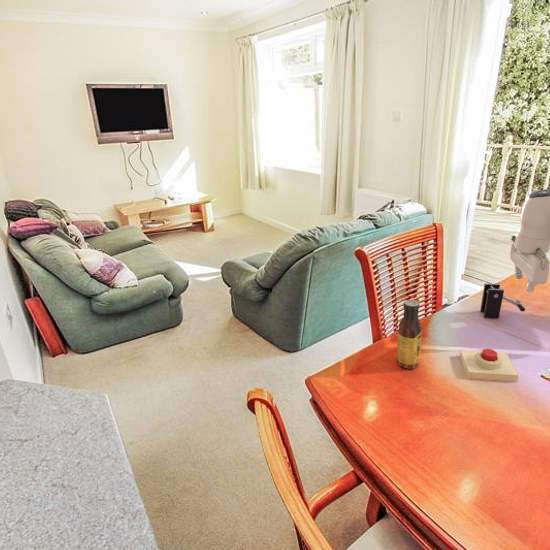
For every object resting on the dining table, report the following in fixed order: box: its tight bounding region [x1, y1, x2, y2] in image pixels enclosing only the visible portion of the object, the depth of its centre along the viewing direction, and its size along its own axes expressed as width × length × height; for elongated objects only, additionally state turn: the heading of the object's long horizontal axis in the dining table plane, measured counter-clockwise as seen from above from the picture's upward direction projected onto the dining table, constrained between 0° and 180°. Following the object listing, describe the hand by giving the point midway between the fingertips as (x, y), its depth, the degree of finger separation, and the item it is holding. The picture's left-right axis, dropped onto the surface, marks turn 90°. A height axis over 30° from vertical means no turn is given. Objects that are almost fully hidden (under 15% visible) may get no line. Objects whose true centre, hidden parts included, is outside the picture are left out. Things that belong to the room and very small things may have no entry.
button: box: [481, 348, 498, 361], centre depth 102 cm, size 4×4×2 cm
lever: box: [487, 286, 526, 312], centre depth 123 cm, size 12×5×2 cm, turn 79°
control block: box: [459, 349, 520, 383], centre depth 103 cm, size 12×10×4 cm
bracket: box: [479, 282, 505, 320], centre depth 125 cm, size 12×9×12 cm
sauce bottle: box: [396, 299, 423, 370], centre depth 105 cm, size 6×6×20 cm
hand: (523, 284), depth 120 cm, fingers open, 8 cm apart
